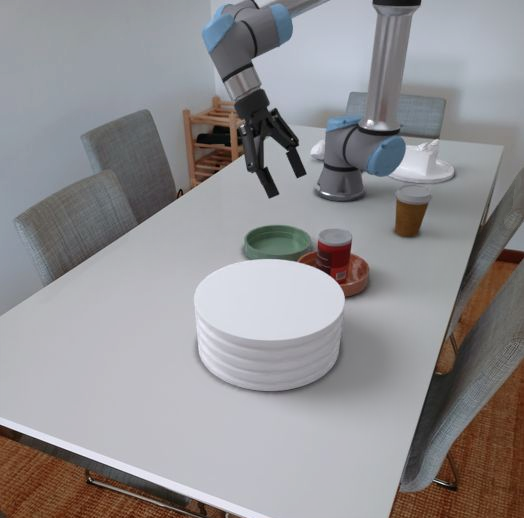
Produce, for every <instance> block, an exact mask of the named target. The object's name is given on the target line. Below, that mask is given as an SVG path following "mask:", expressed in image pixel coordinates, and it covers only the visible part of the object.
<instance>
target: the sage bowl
mask: <svg viewBox="0 0 524 518" xmlns="http://www.w3.org/2000/svg"><path fill="white" fill-rule="evenodd" d="M243 239H244V241H243V242H244V254H245V256H246V257H247V258H248V259H249V260H258V259H278V260H288V261H294V262H297V261H298V259H299V258H300V257H301V256H303V255H305V254H307V253H310V252H312V238H311V236H310V234H309V233H308V232H307V231H305V230H303V229H301V228H300V227H299V228H298V227H296V226H291V225H286V224H267V225H262V226H259V227H255V228H253V229H251V230H249V231H248V232H247V233H246V234H245V235H244V237H243Z"/></svg>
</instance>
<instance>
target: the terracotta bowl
mask: <svg viewBox="0 0 524 518" xmlns="http://www.w3.org/2000/svg"><path fill="white" fill-rule="evenodd" d="M316 259H317V250H313V251H311V252H310V253H307V254H305V255H303V256H301V257H300V258H299V259H298V261H297V262H298V263H302V264H306V265H309V266H312V267H314V268H316ZM370 271H371V270H370V266H369V264H368V262H367V261H365V260H364V258H362V257H360V256H359V255H358V254H354V253H352V252H351V254H350V262H349V269H348V277H347V279H346V281H345V282H344V283H342V284H339V285H340V287H341V289H342V290H343V293H344V296H345V298H346V297H351V296H354V295H357V294H359V293H361V292H362V291H363V290H365V289H366V288H367V286H368V283H369V278H370V277H369V276H370Z"/></svg>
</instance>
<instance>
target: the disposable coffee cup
mask: <svg viewBox="0 0 524 518" xmlns="http://www.w3.org/2000/svg"><path fill="white" fill-rule="evenodd" d="M395 198H396V202H395V203H396V204H395V223H394V224H395V226H394V233H395V234H396V235H398V236H400V237H404V238H414V237H417V236H418V235H419V232H420V229H421V227H422V223H423V221H424V218H425V215H426V212H427V209H428V206H429V205H430V204H429V203H430V202H431V200H432V198H433V195H432V190H431V189H430V188H428V187H427V186H424V185H420V184H412V183H411V184H403V185H400V186H398V188H397V190H396V191H395Z"/></svg>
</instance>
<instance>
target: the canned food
mask: <svg viewBox="0 0 524 518" xmlns="http://www.w3.org/2000/svg"><path fill="white" fill-rule="evenodd" d="M317 236H318V237H317V246H316V251H317V259H316V268H317V269H319V270H321V271H323V272H324V273H326V274H328V275H329V276H330V277H332V278H333V279H334V280H335V281H336V282H337V283H338V284H342V283H344V282H345V281H346V279H347V277H348V269H349V262H350V254H351V253H352V245H353V235H352V233H351V232H349V231H348V230H345V229H341V228H327V229H324V230H321V231H320V232H319V233H318V235H317Z"/></svg>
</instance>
